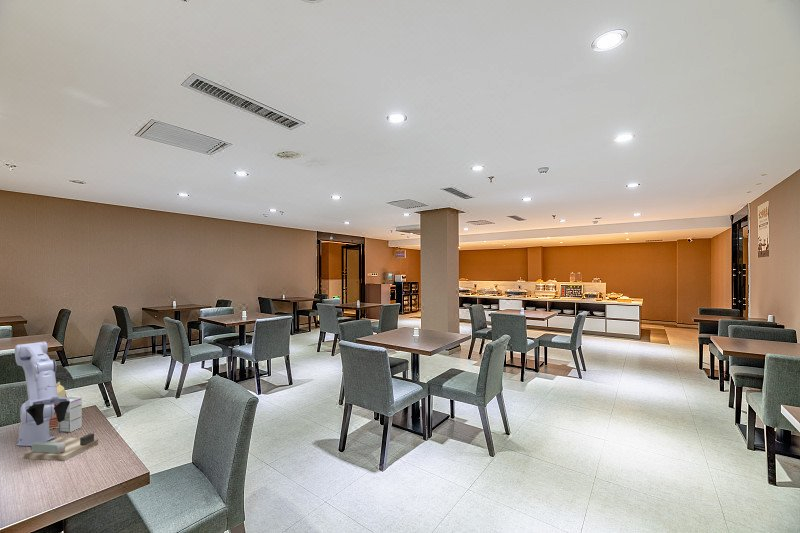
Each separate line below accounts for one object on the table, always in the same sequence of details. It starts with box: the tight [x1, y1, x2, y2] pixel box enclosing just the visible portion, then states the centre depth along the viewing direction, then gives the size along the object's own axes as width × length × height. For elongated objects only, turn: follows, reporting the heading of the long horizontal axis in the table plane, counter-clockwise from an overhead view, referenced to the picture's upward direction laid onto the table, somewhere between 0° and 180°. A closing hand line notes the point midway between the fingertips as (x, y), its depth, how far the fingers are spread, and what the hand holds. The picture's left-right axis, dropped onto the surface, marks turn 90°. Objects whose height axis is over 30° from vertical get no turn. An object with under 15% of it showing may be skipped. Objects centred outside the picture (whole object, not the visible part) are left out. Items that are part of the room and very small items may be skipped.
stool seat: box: [23, 433, 99, 462], centre depth 145 cm, size 18×14×5 cm
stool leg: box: [31, 441, 65, 453], centre depth 141 cm, size 13×2×3 cm, turn 83°
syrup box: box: [58, 396, 83, 433], centre depth 165 cm, size 6×6×14 cm
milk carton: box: [49, 381, 67, 430], centre depth 169 cm, size 9×9×20 cm
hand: (51, 422), depth 140 cm, fingers open, 7 cm apart
